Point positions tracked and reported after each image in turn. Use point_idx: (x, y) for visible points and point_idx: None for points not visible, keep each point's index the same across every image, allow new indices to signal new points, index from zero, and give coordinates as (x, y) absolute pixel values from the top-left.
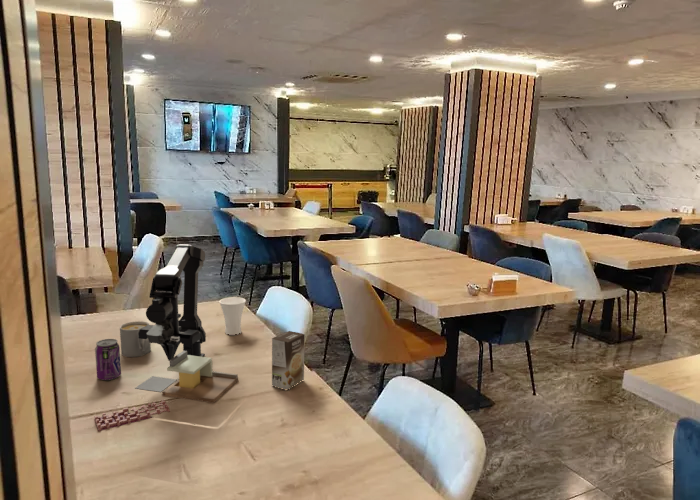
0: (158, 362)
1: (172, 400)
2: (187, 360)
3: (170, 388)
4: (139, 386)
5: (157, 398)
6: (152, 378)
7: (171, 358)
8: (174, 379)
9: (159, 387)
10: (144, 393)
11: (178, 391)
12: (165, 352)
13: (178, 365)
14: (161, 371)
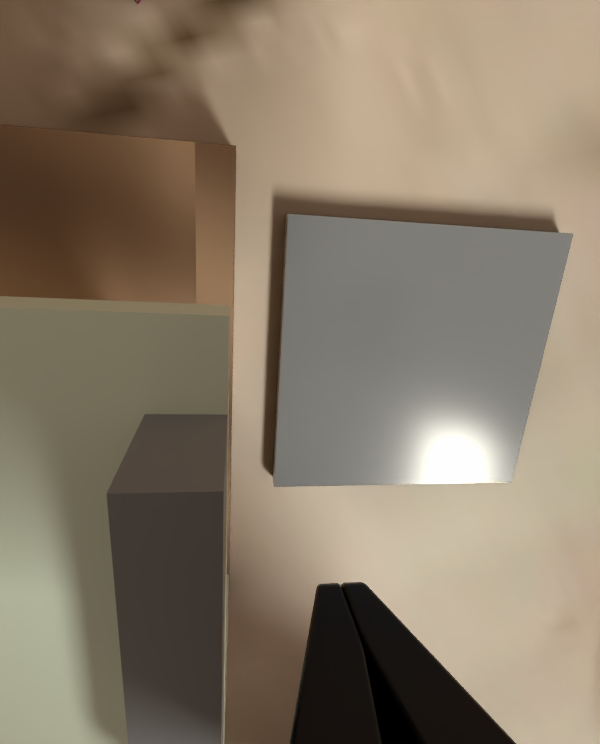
0: (556, 675)
1: (71, 83)
2: (69, 691)
3: (192, 253)
4: (543, 274)
5: (262, 98)
6: (493, 445)
7: (310, 629)
8: (298, 480)
9: (349, 300)
10: (444, 182)
11: (48, 197)
12: (487, 736)
13: (80, 488)
14: (480, 578)
